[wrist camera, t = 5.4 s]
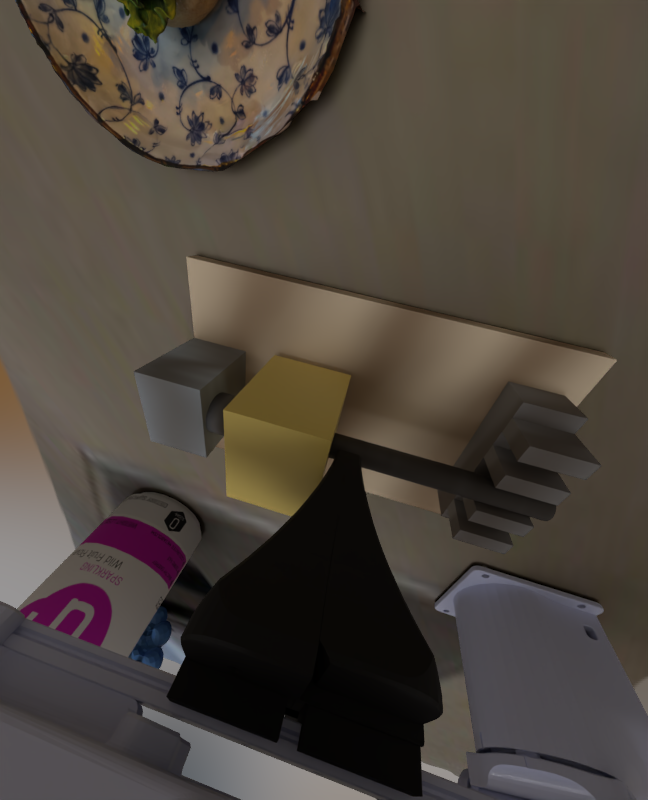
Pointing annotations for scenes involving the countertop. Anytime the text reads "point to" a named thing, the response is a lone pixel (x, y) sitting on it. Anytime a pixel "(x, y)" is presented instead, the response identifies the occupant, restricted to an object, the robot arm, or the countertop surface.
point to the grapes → (153, 640)
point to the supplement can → (118, 573)
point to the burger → (192, 69)
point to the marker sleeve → (282, 433)
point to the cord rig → (391, 394)
